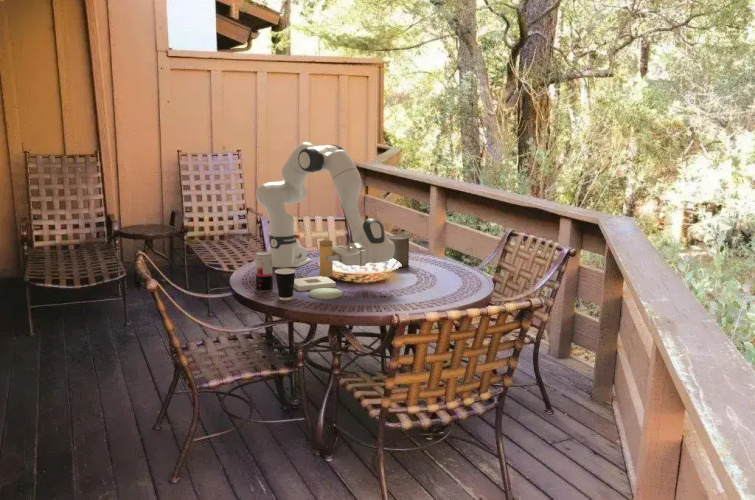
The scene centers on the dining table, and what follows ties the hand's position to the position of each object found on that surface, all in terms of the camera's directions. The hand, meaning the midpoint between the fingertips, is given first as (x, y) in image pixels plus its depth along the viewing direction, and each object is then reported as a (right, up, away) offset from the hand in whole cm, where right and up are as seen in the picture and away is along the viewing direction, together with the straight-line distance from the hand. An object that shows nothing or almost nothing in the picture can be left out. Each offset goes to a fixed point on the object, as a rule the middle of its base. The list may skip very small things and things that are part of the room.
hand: (323, 256), depth 260 cm
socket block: (-8, -11, +20) cm, 25 cm away
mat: (0, -15, +4) cm, 16 cm away
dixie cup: (-14, -16, -2) cm, 22 cm away
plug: (+1, -7, +2) cm, 8 cm away
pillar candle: (+31, -5, +55) cm, 63 cm away
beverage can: (-25, -14, +10) cm, 30 cm away
